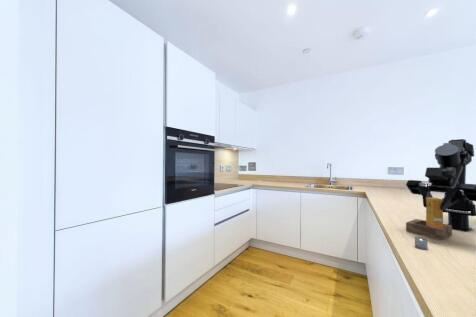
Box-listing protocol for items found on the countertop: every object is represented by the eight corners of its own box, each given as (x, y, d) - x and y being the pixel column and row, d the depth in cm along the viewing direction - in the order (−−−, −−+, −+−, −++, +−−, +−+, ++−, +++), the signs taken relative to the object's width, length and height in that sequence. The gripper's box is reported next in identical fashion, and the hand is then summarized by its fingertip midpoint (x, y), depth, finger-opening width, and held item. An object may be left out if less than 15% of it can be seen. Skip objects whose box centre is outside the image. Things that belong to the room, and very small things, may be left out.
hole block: (416, 226, 83) (416, 218, 83) (452, 234, 74) (451, 225, 74) (406, 231, 77) (405, 222, 77) (443, 240, 68) (443, 230, 68)
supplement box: (445, 228, 65) (443, 198, 65) (433, 228, 65) (431, 198, 65) (436, 225, 68) (435, 197, 68) (425, 225, 68) (424, 197, 69)
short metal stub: (417, 245, 64) (416, 236, 64) (429, 248, 62) (428, 239, 62) (413, 247, 63) (412, 238, 63) (425, 250, 60) (425, 241, 60)
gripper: (407, 159, 77) (391, 189, 73) (479, 158, 60) (463, 197, 56) (419, 178, 80) (404, 207, 76) (490, 182, 63) (477, 220, 59)
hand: (432, 207), depth 66 cm, fingers closed on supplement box, 4 cm apart
